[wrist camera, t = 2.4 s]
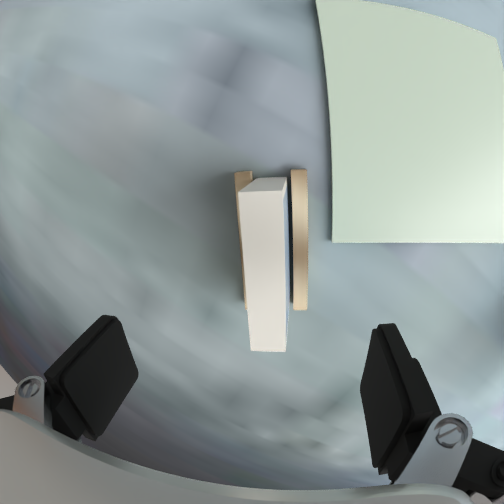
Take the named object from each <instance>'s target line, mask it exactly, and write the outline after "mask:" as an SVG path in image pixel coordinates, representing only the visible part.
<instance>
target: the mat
mask: <svg viewBox="0 0 504 504" xmlns="http://www.w3.org/2000/svg"><path fill="white" fill-rule="evenodd" d="M315 3H316V9H317V15H318V21H319V27H320V34H321V41H322V49H323V57H324V65H325V74H326V84H327V95H328V108H329V122H330V140H331V166H332V243H504V69H503V64H502V60H501V55H500V51H499V47H498V44H497V40H496V38H494V37H492V36H490V35H487V34H485V33H483V32H480V31H478V30H476V29H473V28H471V27H468V26H465V25H463V24H460V23H457V22H454V21H451V20H448V19H445V18H442V17H438V16H435V15H432V14H428V13H424V12H420V11H416V10H412V9H408V8H403V7H398V6H393V5H388V4H382V3H376V2H368V1H360V0H315Z"/></svg>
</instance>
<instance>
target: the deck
mask: <svg viewBox="0 0 504 504" xmlns="http://www.w3.org/2000/svg"><path fill="white" fill-rule="evenodd" d="M238 199H239V212H240V225H241V237H242V250H243V262H244V274H245V287H246V298H247V310H248V322H249V333H250V345H251V351H270V352H286V341H287V329H288V316H289V303H290V260H289V219H288V191H287V177H268V178H256V179H255V180H254V181H252V182H251V183H250V184H248V185H247V186H246V187H244V188H243V189H242V190H240V191H239V192H238Z"/></svg>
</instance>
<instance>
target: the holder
mask: <svg viewBox="0 0 504 504" xmlns="http://www.w3.org/2000/svg"><path fill="white" fill-rule="evenodd" d="M234 176H235V189H236V202H237V215H238V227H239V240H240V252H241V264H242V275H243V287H244V299H245V309H247V298H246V287H245V274H244V262H243V250H242V237H241V225H240V212H239V199H238V192H239V191H240V190H242V189H243V188H244V187H246V186H247V185H248V184H250V183H251V182H252V181H253V178H252V171H242V172H236V173H234ZM291 187H292V217H293V276H294V305H293V310H307V291H308V195H307V170H306V169H291Z"/></svg>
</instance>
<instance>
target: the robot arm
mask: <svg viewBox="0 0 504 504" xmlns="http://www.w3.org/2000/svg"><path fill="white" fill-rule="evenodd" d="M44 376H45V378H46V379H47V382H46V383H45V382H44V381H43V379H42V378H40V377H38V376H30V377H27V378H25V379H23V380H22V381H21V382H20V383H19V384H18V385H17V387H16V390H15V395H13V396H10V397H5V398H2V399H0V504H504V451H502V450H500V449H497V448H495V447H492V446H490V445H488V444H485V443H483V442H480V441H478V440H476V439H473V438H472V435H473V431H472V427H471V425H470V423H469V422H468V421H467V420H466V419H465V418H464V417H462V416H460V415H458V414H453V413H449V414H443V415H442V414H441V411H440V409H439V406H438V404H437V402H436V399H435V397H434V394H433V392H432V390H431V388H430V385H429V383H428V381H427V379H426V376H425V374H424V372H423V370H422V368H421V365H420V363H419V362H418V360H417V359H416V358H412V357H411V355H410V353H409V351H408V349H407V347H406V345H405V342H404V340H403V338H402V336H401V334H400V332H399V330H398V328H397V326H396V325H395V324H394V323H391V324H379V325H378V327H377V329H373V330H372V335H371V340H370V345H369V350H368V354H367V359H366V363H365V368H364V372H363V376H362V380H361V384H360V393H361V398H362V404H363V409H364V414H365V420H366V426H367V432H368V438H369V444H370V451H371V458H372V465H373V467H374V468H377V467H378V472H379V475H381V474H387V473H388V476H389V479H390V480H391V482H390V484H389V485H382V486H372V487H360V488H349V489H335V490H270V489H256V488H245V487H236V486H229V485H222V484H215V483H209V482H204V481H198V480H193V479H189V478H184V477H180V476H175V475H171V474H167V473H164V472H160V471H156V470H153V469H149V468H146V467H143V466H140V465H136V464H133V463H130V462H127V461H125V460H122V459H119V458H116V457H114V456H111V455H108V454H106V453H103V452H101V451H98V450H96V449H94V448H91V447H89V446H87V445H84V444H82V442H81V437H80V436H81V435H82V434H83V435H84V436H85V437H86V438H88V439H91V440H93V441H96V439H97V438H98V436H101V435H102V434H103V432H104V431H105V429H106V428H107V426H108V424H109V423H110V421H111V419H112V418H113V416H114V415H115V413H116V411H117V410H118V408H119V407H120V405H121V404H122V402H123V400H124V399H125V397H126V396H127V394H128V393H129V391H130V389H131V388H132V386H133V385H134V383H135V382H136V380H137V378H138V369H137V367H136V364H135V361H134V359H133V356H132V353H131V351H130V348H129V345H128V342H127V339H126V336H125V333H124V330H123V327H122V324H121V322H120V321H119V320H118V319H117V317H115V316H109V315H102V316H101V317H100V318H99V319H98V320H96V321H95V322H94V323H93V324H92V325H91V326H90V327H89V328H88V329H87V330H86V331H85V332H84V333H83V334H82V335H81V336H80V337H79V338H78V339H77V340H76V341H75V342H74V343H73V344H72V345H71V346H70V347H69V348H68V349H67V350H66V351H65V352H64V353H63V354H62V355H61V356H60V357H59V358H58V359H57V360H56V361H55V362H54V364H53V365H52V366H51V367H50V368H49V369H48V370H47V371H46V372H45V373H44Z"/></svg>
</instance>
